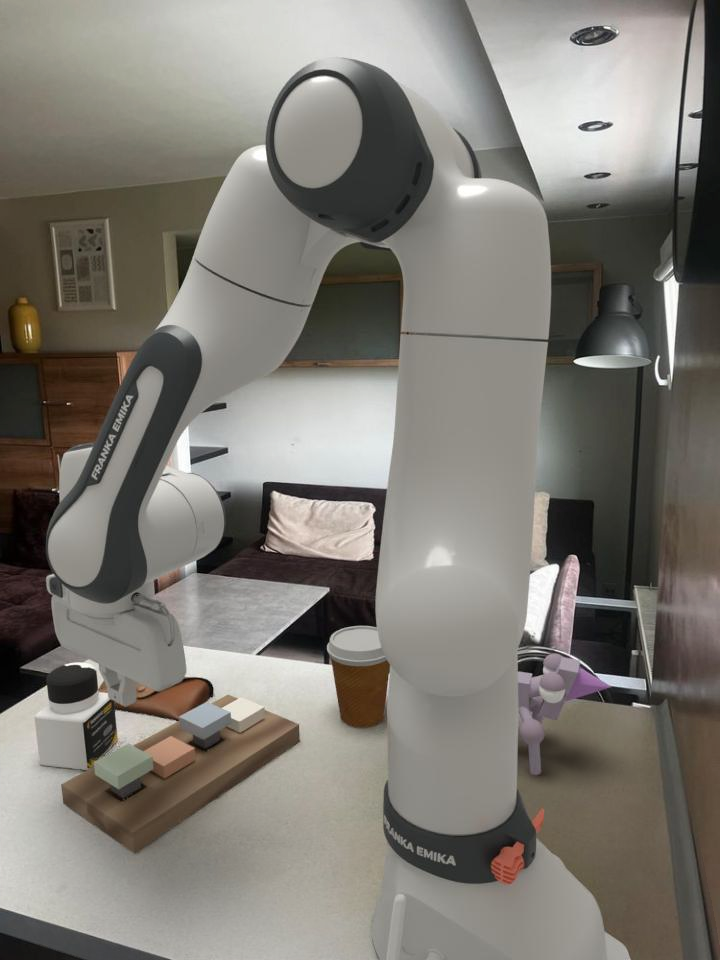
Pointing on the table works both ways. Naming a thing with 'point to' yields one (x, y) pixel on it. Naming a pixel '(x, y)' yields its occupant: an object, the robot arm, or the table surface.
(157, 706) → the sunglasses case
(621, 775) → the table surface
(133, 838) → the wooden board
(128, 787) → the key sage
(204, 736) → the key slate
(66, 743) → the medicine bottle
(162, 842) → the table surface
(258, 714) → the key ivory
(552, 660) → the purple toy figure
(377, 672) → the disposable coffee cup
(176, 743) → the key terracotta
